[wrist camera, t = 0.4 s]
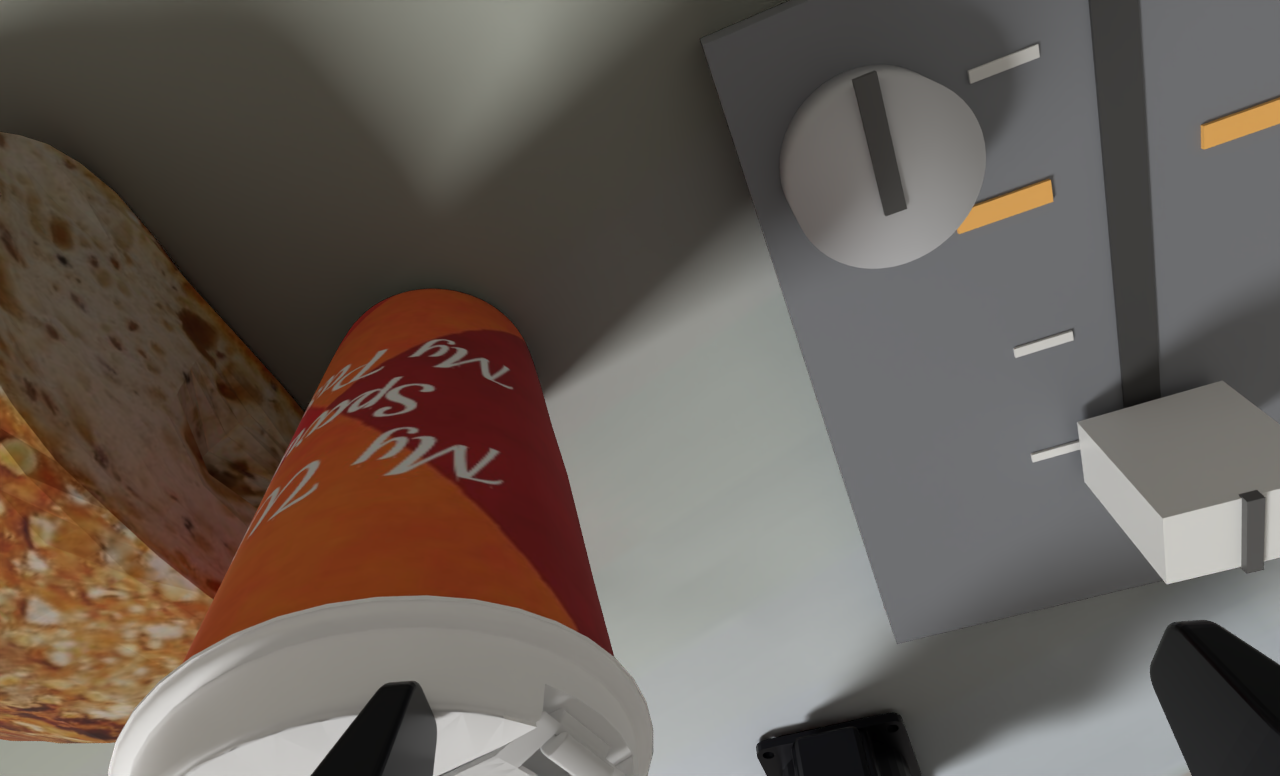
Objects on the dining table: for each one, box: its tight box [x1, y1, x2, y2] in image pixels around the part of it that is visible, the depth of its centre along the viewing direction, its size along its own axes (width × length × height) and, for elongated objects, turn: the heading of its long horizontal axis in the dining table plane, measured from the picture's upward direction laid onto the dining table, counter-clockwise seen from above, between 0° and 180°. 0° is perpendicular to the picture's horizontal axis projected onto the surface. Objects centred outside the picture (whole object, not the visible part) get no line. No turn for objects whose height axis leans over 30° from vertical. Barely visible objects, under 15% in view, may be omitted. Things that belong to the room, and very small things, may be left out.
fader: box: [1077, 381, 1280, 584], centre depth 21 cm, size 2×4×5 cm, turn 112°
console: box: [700, 0, 1280, 644], centre depth 21 cm, size 22×16×4 cm
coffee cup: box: [108, 289, 653, 776], centre depth 17 cm, size 8×8×15 cm
